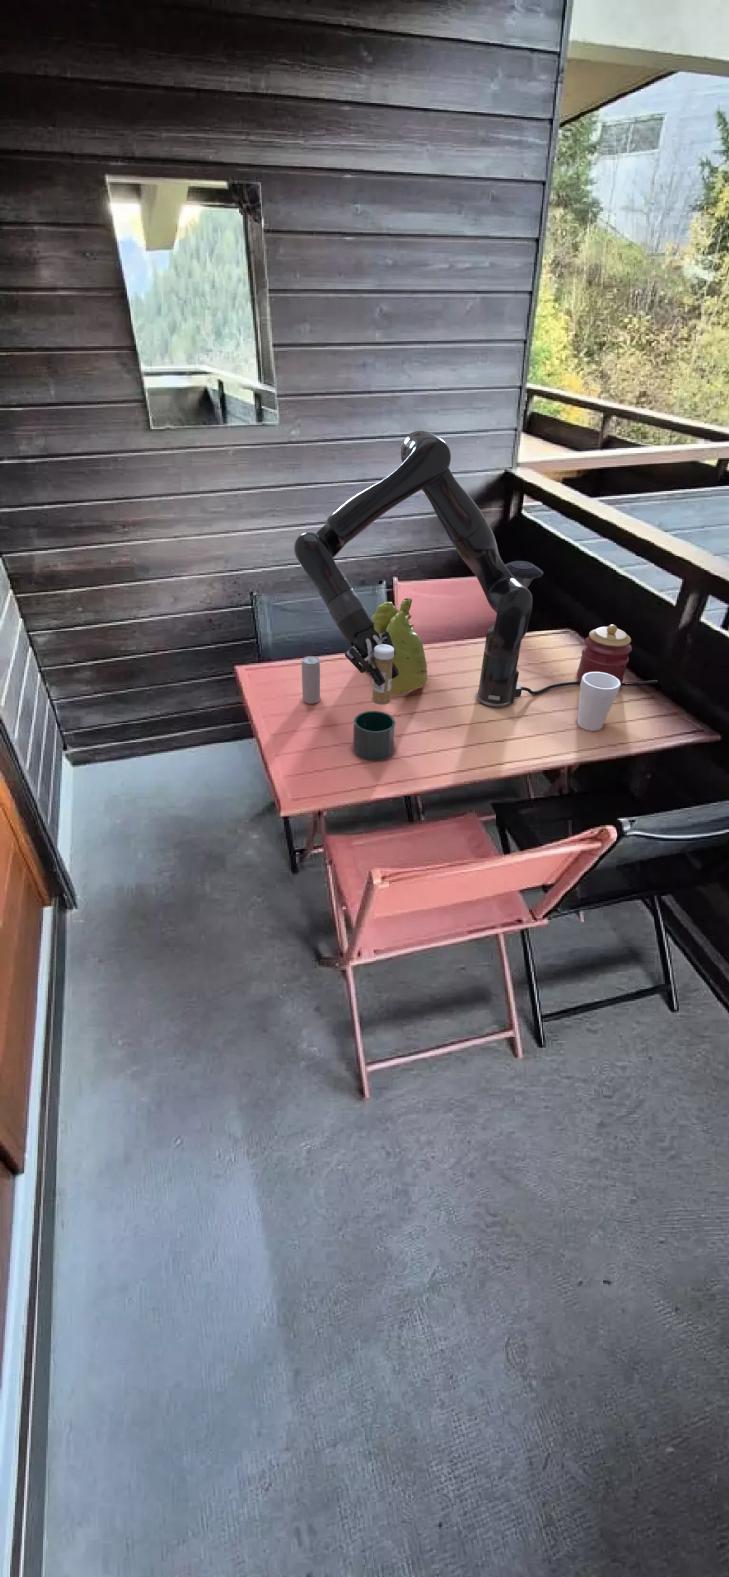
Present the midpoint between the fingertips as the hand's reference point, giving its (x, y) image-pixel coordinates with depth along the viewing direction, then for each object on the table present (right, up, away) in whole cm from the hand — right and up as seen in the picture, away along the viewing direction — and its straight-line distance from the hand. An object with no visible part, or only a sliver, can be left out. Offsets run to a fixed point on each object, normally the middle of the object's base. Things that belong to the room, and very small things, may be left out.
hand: (388, 680), depth 159 cm
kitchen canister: (+62, +6, +45) cm, 77 cm away
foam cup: (+54, -8, +25) cm, 60 cm away
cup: (-3, -15, +12) cm, 20 cm away
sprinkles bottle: (-2, -4, +5) cm, 7 cm away
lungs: (+3, +7, +43) cm, 43 cm away
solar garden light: (+37, +13, +52) cm, 66 cm away
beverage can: (-20, -1, +31) cm, 36 cm away
